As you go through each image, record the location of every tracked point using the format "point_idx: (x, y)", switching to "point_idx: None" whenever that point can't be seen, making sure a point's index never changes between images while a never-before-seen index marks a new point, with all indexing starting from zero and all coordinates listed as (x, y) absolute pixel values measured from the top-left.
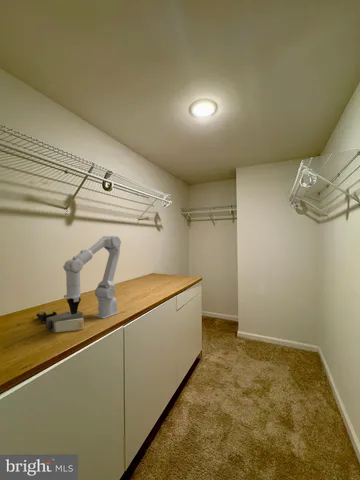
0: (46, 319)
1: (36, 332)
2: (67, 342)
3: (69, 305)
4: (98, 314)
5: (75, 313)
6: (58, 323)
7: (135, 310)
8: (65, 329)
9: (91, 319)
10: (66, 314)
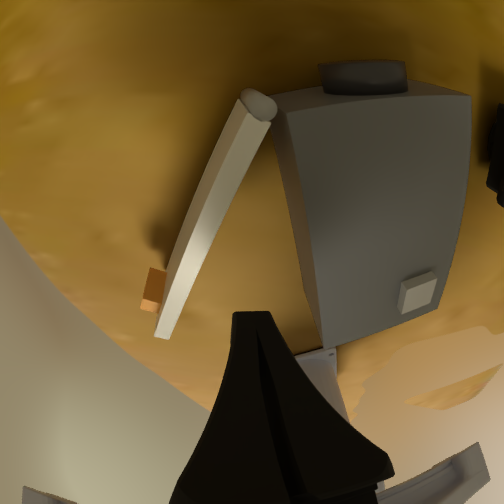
0: (501, 131)
1: (386, 5)
2: (17, 166)
3: (228, 427)
4: (312, 364)
5: (230, 342)
6: (230, 140)
7: None
8: (204, 176)
9: (304, 329)
10: (400, 258)
